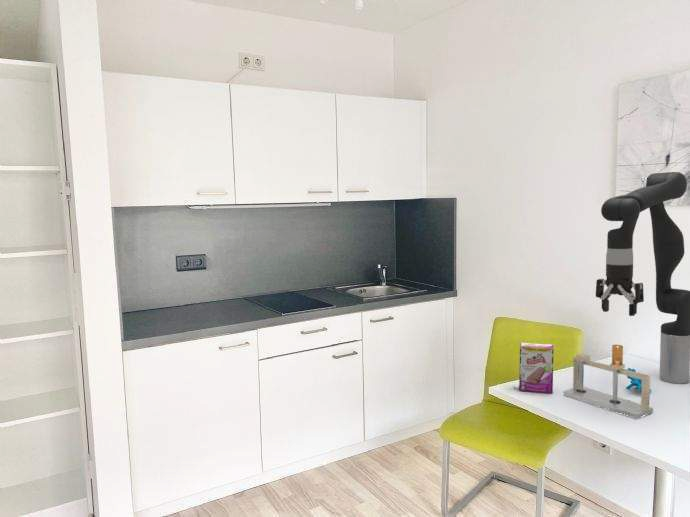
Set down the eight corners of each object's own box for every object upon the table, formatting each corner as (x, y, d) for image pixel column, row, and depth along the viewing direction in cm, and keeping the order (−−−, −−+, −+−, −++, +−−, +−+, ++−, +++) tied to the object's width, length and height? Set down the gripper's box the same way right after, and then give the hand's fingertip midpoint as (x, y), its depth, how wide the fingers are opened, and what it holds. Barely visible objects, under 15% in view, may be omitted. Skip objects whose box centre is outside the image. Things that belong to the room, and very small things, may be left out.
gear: (644, 394, 173) (624, 367, 178) (630, 403, 176) (610, 377, 182) (658, 390, 179) (638, 365, 185) (644, 399, 183) (625, 374, 188)
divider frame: (579, 389, 183) (580, 351, 181) (652, 412, 162) (654, 369, 160) (563, 395, 178) (564, 355, 177) (636, 419, 157) (637, 374, 156)
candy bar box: (519, 391, 183) (519, 345, 181) (519, 386, 188) (519, 342, 186) (553, 394, 179) (553, 347, 178) (552, 389, 184) (553, 343, 182)
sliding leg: (614, 397, 170) (615, 344, 168) (623, 400, 167) (625, 346, 165) (609, 399, 168) (610, 345, 166) (618, 402, 165) (619, 347, 164)
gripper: (649, 263, 159) (648, 315, 161) (605, 259, 171) (604, 308, 173) (635, 265, 155) (634, 319, 157) (591, 261, 167) (590, 311, 169)
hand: (618, 313), depth 165 cm, fingers open, 8 cm apart
